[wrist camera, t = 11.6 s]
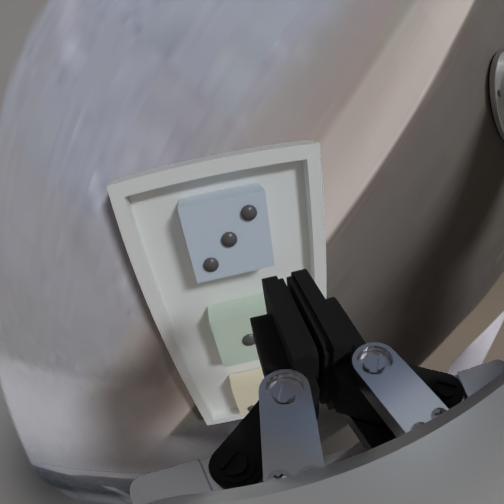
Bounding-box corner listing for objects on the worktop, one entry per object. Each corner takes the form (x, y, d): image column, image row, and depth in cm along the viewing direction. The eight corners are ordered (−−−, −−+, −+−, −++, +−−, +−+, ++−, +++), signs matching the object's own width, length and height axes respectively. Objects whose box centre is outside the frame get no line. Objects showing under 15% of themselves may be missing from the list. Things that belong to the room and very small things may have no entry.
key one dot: (272, 291, 24) (280, 307, 22) (278, 337, 26) (285, 354, 25) (207, 306, 23) (209, 323, 21) (221, 351, 26) (224, 368, 24)
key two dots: (281, 362, 28) (287, 378, 26) (285, 391, 31) (290, 405, 29) (228, 374, 28) (232, 391, 26) (238, 402, 30) (241, 417, 28)
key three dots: (258, 182, 20) (265, 190, 18) (267, 252, 22) (275, 266, 20) (178, 199, 19) (177, 209, 17) (196, 268, 22) (197, 284, 20)
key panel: (308, 139, 20) (319, 142, 18) (317, 384, 33) (322, 396, 31) (113, 179, 18) (106, 186, 17) (205, 411, 32) (207, 425, 30)
